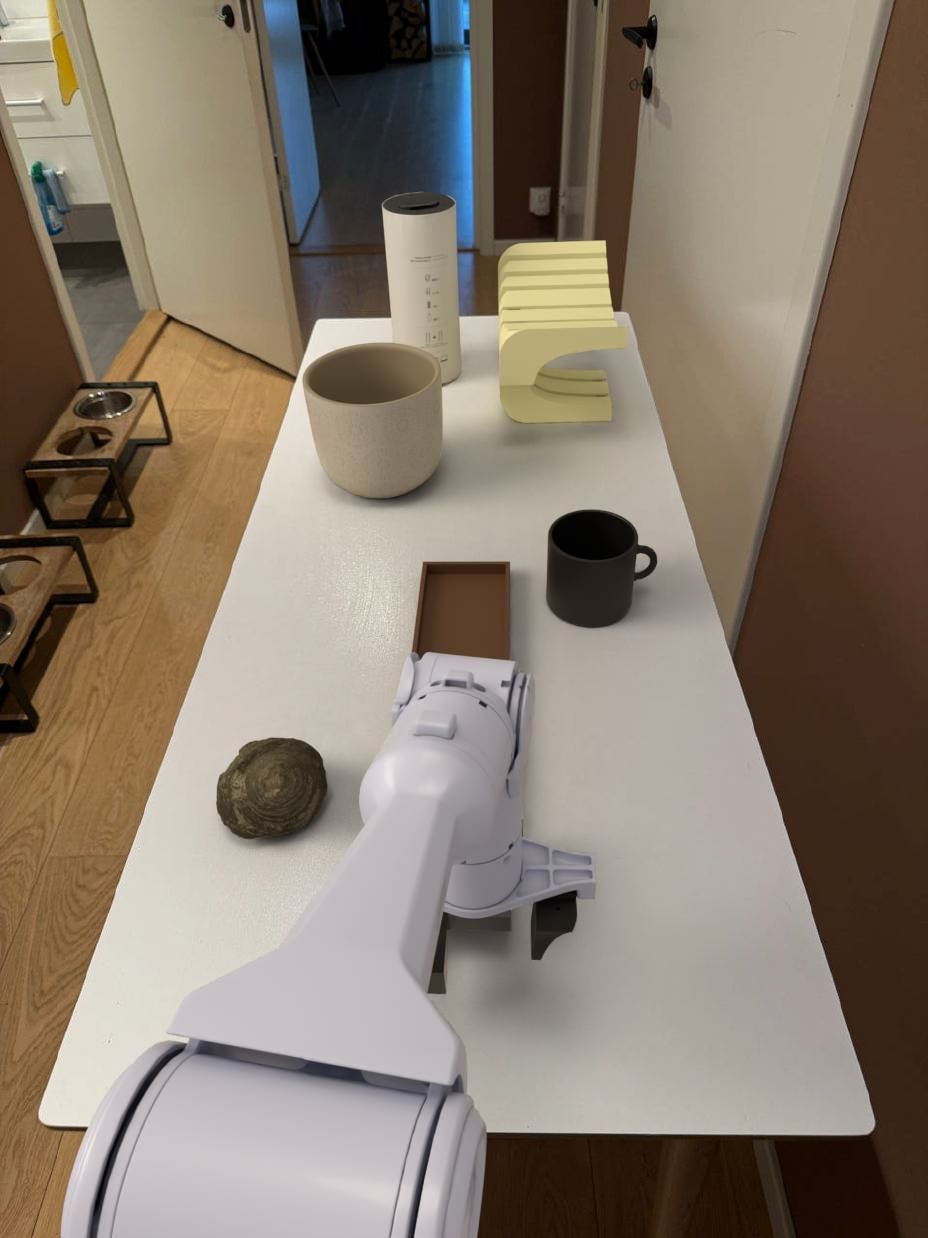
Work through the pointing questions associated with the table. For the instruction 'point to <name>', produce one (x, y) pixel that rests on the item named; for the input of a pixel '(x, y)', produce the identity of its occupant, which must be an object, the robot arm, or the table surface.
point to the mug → (593, 567)
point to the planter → (376, 417)
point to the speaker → (424, 275)
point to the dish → (483, 922)
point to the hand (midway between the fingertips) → (478, 945)
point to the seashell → (271, 788)
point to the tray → (464, 609)
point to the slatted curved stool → (554, 330)
